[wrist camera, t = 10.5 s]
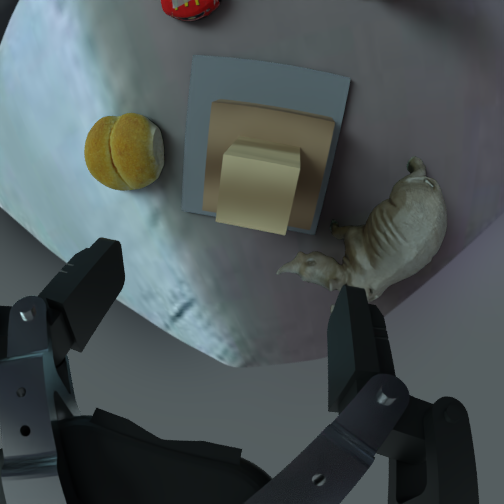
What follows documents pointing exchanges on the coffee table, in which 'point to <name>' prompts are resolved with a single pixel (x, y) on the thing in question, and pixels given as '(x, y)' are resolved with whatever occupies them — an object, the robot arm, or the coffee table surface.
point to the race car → (189, 8)
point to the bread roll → (124, 151)
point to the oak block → (258, 184)
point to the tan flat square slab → (275, 130)
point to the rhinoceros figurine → (383, 240)
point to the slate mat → (261, 92)
